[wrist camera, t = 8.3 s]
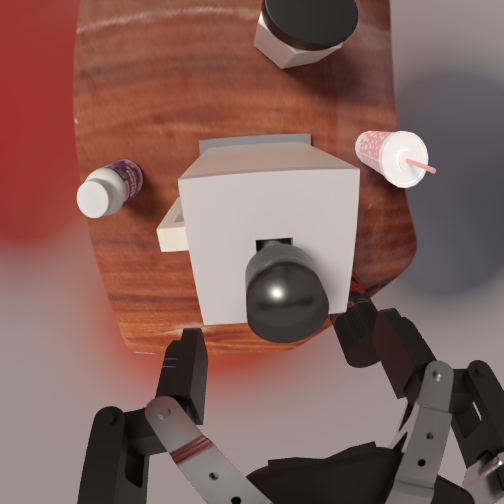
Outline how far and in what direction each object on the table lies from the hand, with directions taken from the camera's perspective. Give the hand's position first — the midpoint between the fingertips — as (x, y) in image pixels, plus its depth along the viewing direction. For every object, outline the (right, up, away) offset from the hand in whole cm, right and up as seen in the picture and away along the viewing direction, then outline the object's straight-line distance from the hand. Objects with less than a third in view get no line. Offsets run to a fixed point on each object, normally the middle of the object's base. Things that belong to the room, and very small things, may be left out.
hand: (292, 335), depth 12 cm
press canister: (-2, +12, +23) cm, 26 cm away
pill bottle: (-18, +13, +22) cm, 31 cm away
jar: (+3, +29, +15) cm, 33 cm away
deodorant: (+11, 0, +30) cm, 32 cm away
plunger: (-1, +8, +15) cm, 17 cm away
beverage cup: (+14, +17, +21) cm, 31 cm away
